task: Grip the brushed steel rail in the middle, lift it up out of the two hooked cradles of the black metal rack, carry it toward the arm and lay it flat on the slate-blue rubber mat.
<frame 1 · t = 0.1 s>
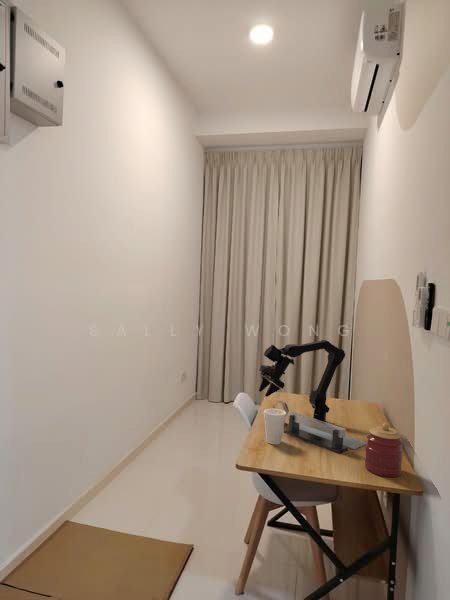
hand: (262, 393, 197), 15 cm above the table, tool tilted 35°, fingers open, 9 cm apart
foam cup: (273, 442, 175), on the table
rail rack: (314, 440, 178), on the table
rail: (315, 427, 178), point 6 cm above the table, touching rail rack
mat: (328, 435, 185), on the table
watch: (280, 424, 199), on the table
canister: (382, 470, 152), on the table
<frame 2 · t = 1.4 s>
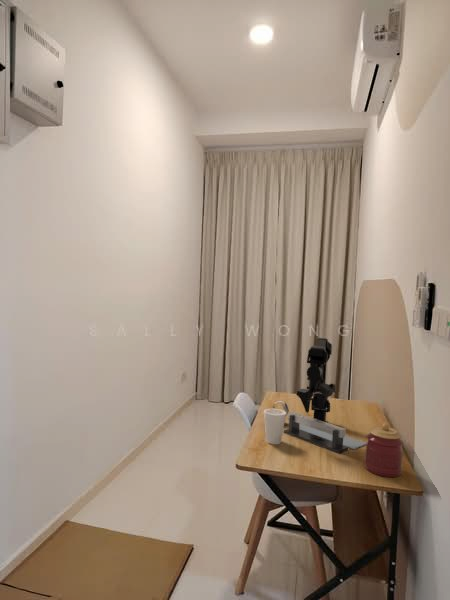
hand: (313, 411, 178), 13 cm above the table, tool pointing down, fingers open, 9 cm apart
nothing on the table moved.
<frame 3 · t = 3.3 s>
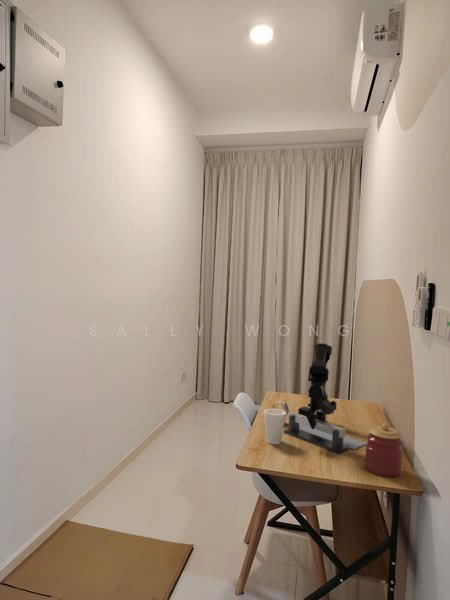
hand: (315, 428, 178), 6 cm above the table, tool pointing down, fingers closed on rail, 3 cm apart
rail: (315, 427, 178), point 6 cm above the table, touching gripper, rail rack
everything else where it was.
when the fingers open (2 cm above the table, at t = 8.2 s): rail drops 1 cm, resting on mat.
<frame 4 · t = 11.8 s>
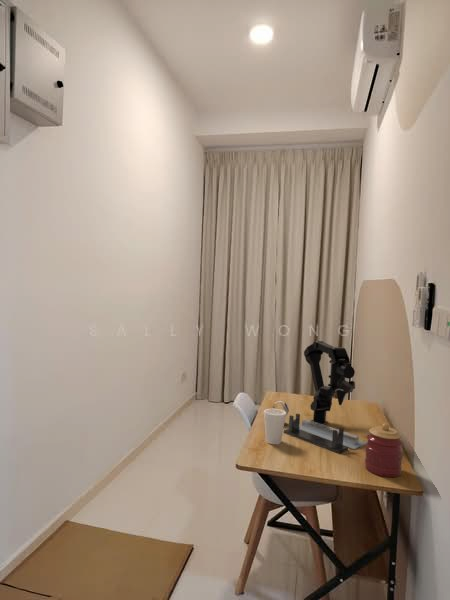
hand: (334, 406, 191), 12 cm above the table, tool pointing down, fingers open, 9 cm apart
rail: (328, 434, 185), resting on mat
everything else where it was.
at the end: rail 0.0 cm off-centre on the mat, point 0.5 cm above the mat's base; rail tilted 0°; the gripper is holding nothing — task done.
